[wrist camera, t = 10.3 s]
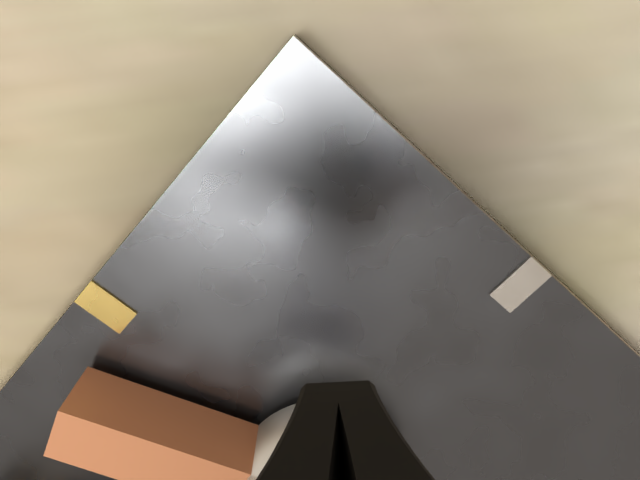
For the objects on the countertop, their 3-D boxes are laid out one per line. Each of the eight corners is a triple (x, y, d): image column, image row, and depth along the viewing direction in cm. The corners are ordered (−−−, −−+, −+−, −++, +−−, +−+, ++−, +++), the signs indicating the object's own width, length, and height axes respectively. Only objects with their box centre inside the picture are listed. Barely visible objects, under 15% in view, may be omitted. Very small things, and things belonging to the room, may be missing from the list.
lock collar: (435, 433, 21) (449, 483, 18) (364, 550, 23) (369, 609, 20) (104, 315, 19) (75, 354, 17) (59, 452, 21) (27, 505, 19)
